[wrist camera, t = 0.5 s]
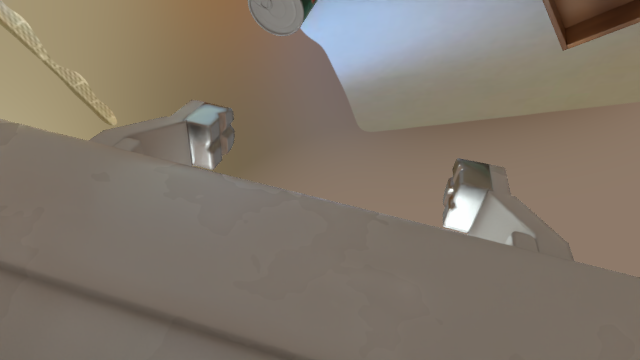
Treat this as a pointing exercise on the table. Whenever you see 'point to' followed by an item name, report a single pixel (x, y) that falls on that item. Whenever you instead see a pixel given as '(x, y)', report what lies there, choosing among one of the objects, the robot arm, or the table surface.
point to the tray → (590, 18)
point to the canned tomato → (280, 14)
